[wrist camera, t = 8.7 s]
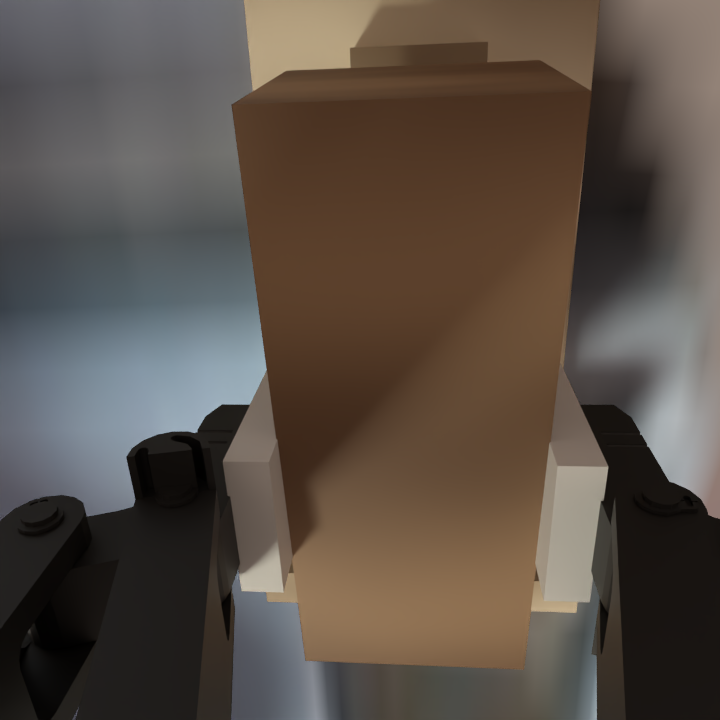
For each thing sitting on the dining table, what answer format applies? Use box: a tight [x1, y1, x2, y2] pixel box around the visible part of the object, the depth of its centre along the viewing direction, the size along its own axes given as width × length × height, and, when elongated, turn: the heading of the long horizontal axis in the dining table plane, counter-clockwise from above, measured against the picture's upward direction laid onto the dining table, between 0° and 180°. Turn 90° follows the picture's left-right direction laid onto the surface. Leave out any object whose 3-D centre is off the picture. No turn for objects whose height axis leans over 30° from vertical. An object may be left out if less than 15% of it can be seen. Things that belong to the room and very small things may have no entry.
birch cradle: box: [244, 0, 600, 613], centre depth 16 cm, size 16×8×5 cm, turn 2°
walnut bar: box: [232, 60, 592, 669], centre depth 13 cm, size 11×4×4 cm, turn 2°
